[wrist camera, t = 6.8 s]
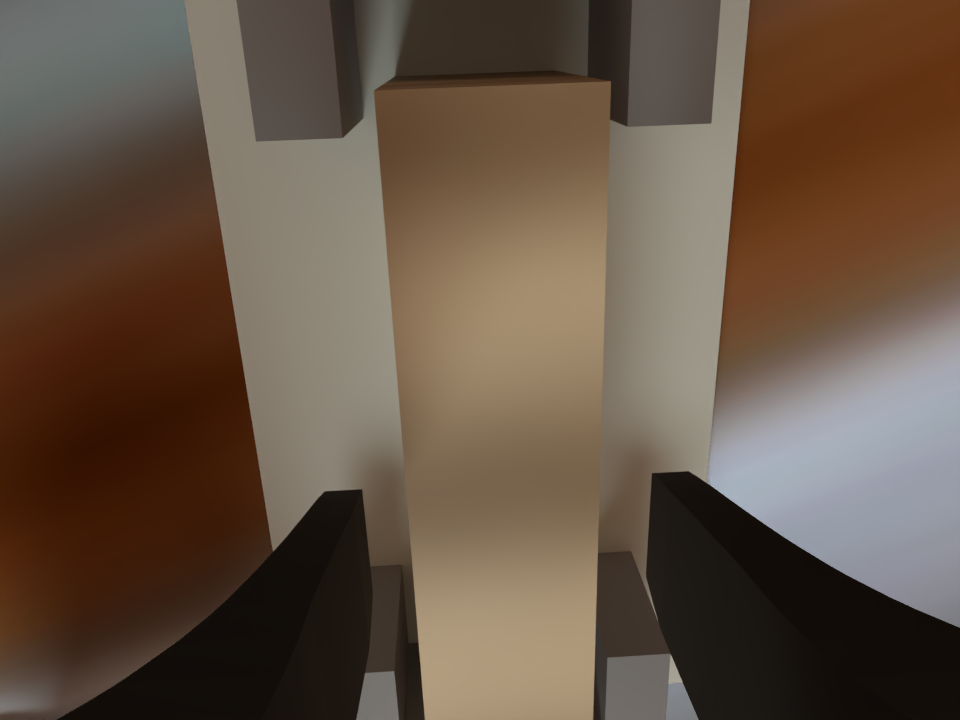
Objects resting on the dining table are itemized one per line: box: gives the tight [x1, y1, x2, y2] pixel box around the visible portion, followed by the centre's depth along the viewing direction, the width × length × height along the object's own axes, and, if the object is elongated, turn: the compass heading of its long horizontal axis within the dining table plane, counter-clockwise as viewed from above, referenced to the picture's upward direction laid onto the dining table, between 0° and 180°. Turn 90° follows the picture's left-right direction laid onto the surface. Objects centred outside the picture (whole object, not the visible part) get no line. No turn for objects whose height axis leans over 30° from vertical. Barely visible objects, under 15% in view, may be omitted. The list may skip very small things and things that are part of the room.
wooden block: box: [374, 70, 611, 720], centre depth 17 cm, size 14×4×6 cm, turn 2°
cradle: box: [184, 0, 750, 720], centre depth 18 cm, size 22×12×5 cm, turn 2°
